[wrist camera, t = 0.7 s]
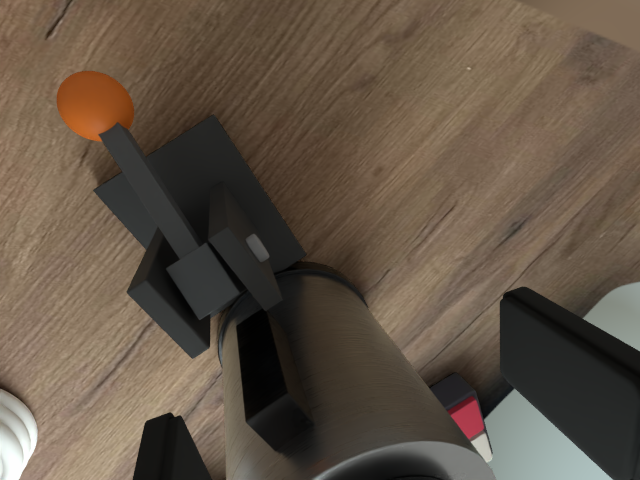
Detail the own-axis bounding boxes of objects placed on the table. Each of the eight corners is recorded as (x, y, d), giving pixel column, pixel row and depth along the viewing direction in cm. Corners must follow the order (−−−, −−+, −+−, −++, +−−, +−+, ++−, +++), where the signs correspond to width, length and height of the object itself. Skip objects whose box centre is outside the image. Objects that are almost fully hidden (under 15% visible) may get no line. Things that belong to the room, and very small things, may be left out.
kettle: (168, 305, 28) (98, 613, 11) (310, 213, 29) (453, 368, 11) (272, 415, 34) (330, 721, 17) (386, 337, 35) (553, 558, 18)
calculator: (499, 461, 40) (382, 540, 38) (472, 430, 44) (364, 500, 41) (481, 394, 35) (347, 478, 33) (453, 366, 39) (331, 441, 37)
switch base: (98, 186, 24) (4, 249, 13) (213, 114, 24) (213, 117, 14) (209, 311, 29) (206, 430, 18) (303, 249, 29) (354, 330, 19)
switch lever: (71, 109, 19) (25, 82, 16) (124, 77, 19) (87, 43, 16) (206, 315, 19) (186, 328, 16) (257, 282, 19) (248, 288, 16)
